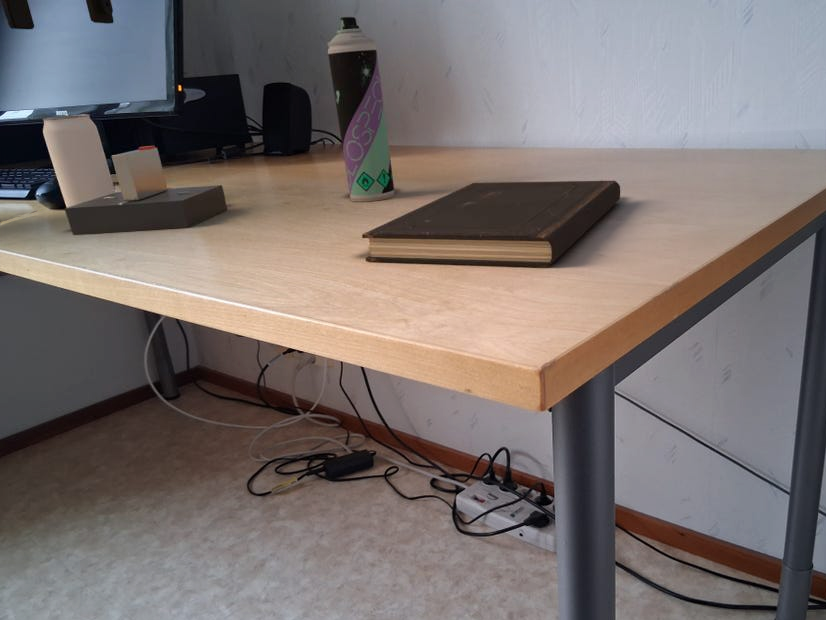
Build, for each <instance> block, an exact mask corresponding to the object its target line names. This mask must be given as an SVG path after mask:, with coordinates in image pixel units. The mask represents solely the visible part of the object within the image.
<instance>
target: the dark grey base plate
mask: <svg viewBox="0 0 826 620" xmlns="http://www.w3.org/2000/svg"><path fill="white" fill-rule="evenodd" d="M167 189H168V190H167V191H164V192H161V193H158V194H155V195H152V196H150V197H147V198H144V199H141V200H136V201H124V199H123V196H122V192H121V191H115V193H113V194H109V195H106V196H103V197H100V198H96V199H93V200H90V201H87V202H83V203H80V204H77V205H74V206H70V207H65V208H64V210H65V215H66V218H67V220H68V224H69V227H70V231H71V233H72V235H73V236H74V235H90V234H91V235H92V234H106V233H122V232H123V233H126V232H138V231H139V232H140V231H141V232H142V231H157V230H174V229H188V228H191V227H193V226H196V225H198V224H200V223H203V222H204V221H206V220H208V219H210V218H213V217H215V216H217V215H219V214H221V213H223V212H226V211H227V210H228V206H227V205H228V204H227V201H226V196H225V192H224V187H223V185H222V184H218V185H205V186H204V185H203V186H189V187H187V186H186V187H173V188H172V186H167Z"/></svg>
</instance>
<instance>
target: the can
mask: <svg viewBox="0 0 826 620" xmlns="http://www.w3.org/2000/svg"><path fill="white" fill-rule="evenodd" d="M42 121H43V128H42V133H43V138H44V141H45V144H46V147H47V150H48V154H49V157H50V160H51V163H52V167H53V169H54V173H55V176H56V180H57V181H58V186H59V188H60V192H61V194H62V199H63V201H64V204H65V206H66V207H65V208H67V207H70V206H74V205H77V204H80V203H83V202H87V201H90V200H93V199H96V198H100V197H103V196H106V195H109V194H113V193H116V189H115V186H114V183H113V179H112V176H111V172H110V168H109V165H108V161H107V158H106V153H105V152H104V147H103V144H102V141H101V137H100V134H99V131H98V128H97V125H96V124H95V123H94V122H93V120H92V119H91V117H90V114H75V115H65V116H55V117H47V118H42Z"/></svg>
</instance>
